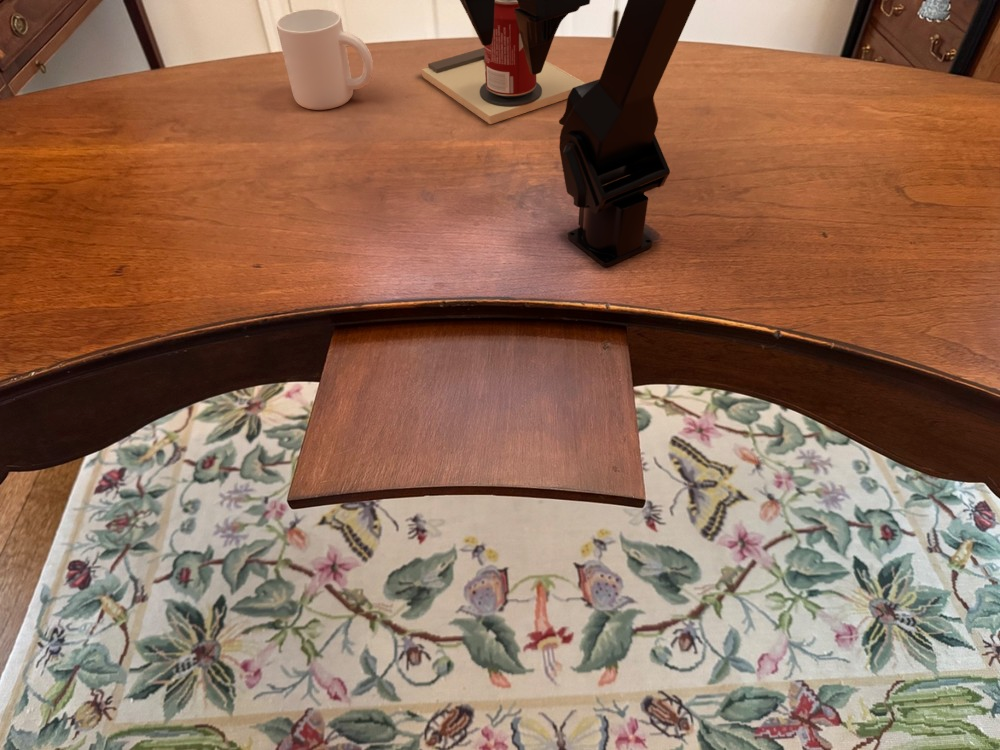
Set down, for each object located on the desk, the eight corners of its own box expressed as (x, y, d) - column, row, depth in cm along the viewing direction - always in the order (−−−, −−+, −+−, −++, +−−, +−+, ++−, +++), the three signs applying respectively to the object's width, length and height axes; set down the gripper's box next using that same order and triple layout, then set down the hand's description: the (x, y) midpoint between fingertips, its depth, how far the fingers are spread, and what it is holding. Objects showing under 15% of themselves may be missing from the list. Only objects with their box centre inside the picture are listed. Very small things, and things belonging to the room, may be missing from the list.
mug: (387, 88, 101) (377, 11, 93) (368, 115, 95) (354, 35, 88) (308, 83, 103) (291, 6, 95) (284, 109, 97) (265, 30, 90)
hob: (587, 92, 98) (588, 79, 97) (490, 125, 92) (490, 112, 91) (513, 50, 109) (513, 38, 108) (422, 77, 103) (421, 64, 102)
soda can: (508, 106, 93) (507, 7, 84) (475, 89, 96) (470, -7, 88) (546, 90, 96) (548, -7, 87) (513, 75, 99) (512, -20, 91)
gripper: (646, -112, 62) (627, 69, 73) (522, -147, 73) (522, 15, 84) (541, -90, 57) (538, 98, 69) (427, -131, 68) (441, 38, 80)
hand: (510, 58), depth 75 cm, fingers open, 9 cm apart
